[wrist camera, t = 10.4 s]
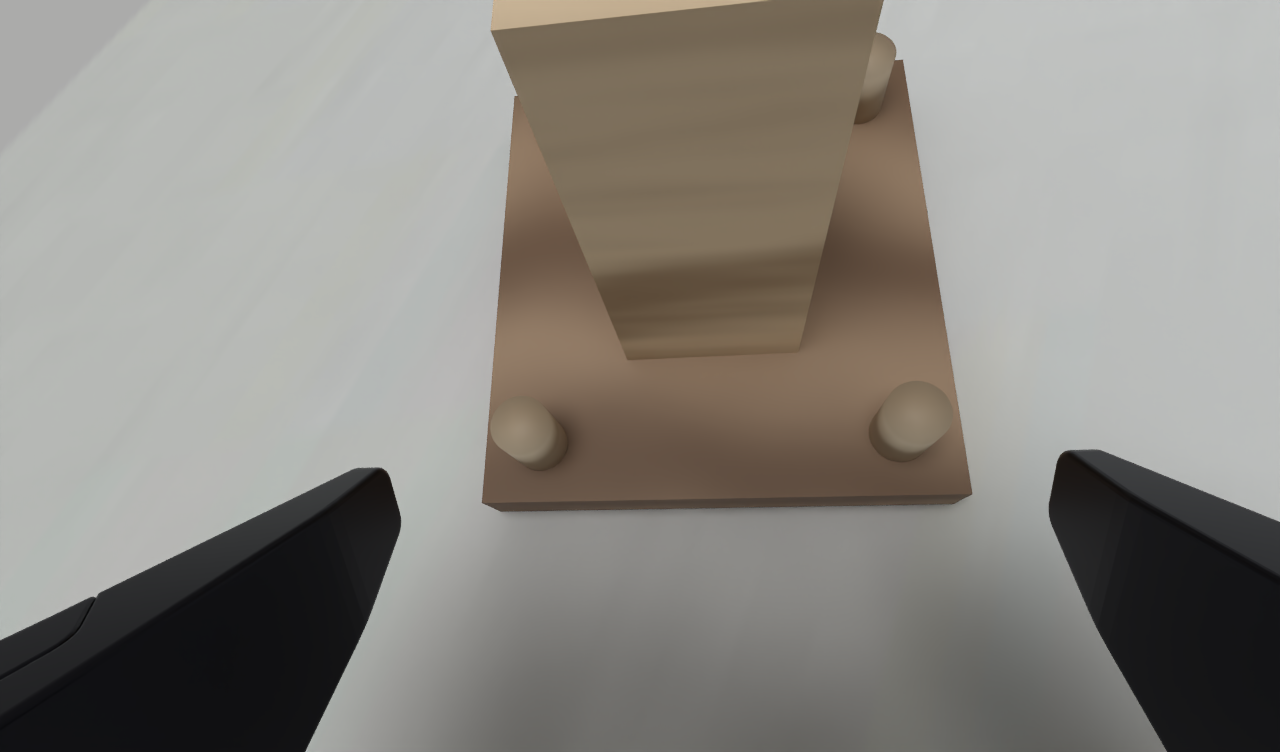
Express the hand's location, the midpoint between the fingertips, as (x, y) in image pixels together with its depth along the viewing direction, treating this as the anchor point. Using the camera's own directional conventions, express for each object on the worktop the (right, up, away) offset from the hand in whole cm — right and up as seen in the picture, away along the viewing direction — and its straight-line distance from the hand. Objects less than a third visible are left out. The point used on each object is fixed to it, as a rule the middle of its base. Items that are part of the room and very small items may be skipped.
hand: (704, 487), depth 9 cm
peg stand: (+1, +4, +11) cm, 12 cm away
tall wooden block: (+1, +5, +10) cm, 11 cm away
